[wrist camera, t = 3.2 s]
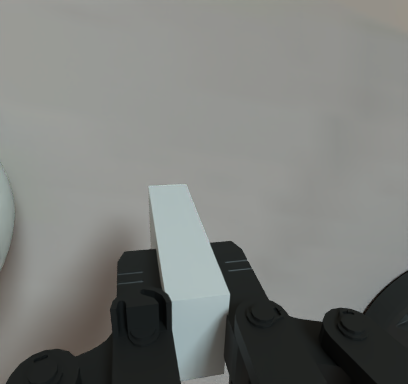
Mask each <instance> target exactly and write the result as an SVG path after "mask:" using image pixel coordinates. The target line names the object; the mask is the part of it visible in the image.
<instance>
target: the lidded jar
mask: <svg viewBox="0 0 408 384" xmlns="http://www.w3.org/2000/svg"><path fill="white" fill-rule="evenodd" d="M14 219H15V206H14V197H13V193H12V189H11V185H10V182H9V179H8V177H7V175H6V172H5V170H4V168H3V166H2V164H1V162H0V271H1V269H2V266H3V264H4V262H5V259H6V256H7V253H8V250H9V247H10V243H11V240H12V236H13V228H14Z"/></svg>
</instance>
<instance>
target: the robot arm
mask: <svg viewBox="0 0 408 384" xmlns="http://www.w3.org/2000/svg"><path fill="white" fill-rule="evenodd" d="M148 190H149V215H150V240H151V249H149V250H138V251H127V252H124V253H123V255H122V256H121V258H120V259H119V261H118V266H117V297H116V298H115V299H114V301H113V302H112V305H111V309H110V313H111V322H112V334H111V335H110V336H109V338H108V339H107V340H106V341H105V342H103V343H102V344H101V345H99V346H98V347H96V348H94V349H92V350H90V351H88V352H86V353H83V354H81V355H79V356H76V357H75V356H73V355H72V354H71V353H70V352H69V351H64V350H60V349H53V350H45V351H42V352H40V353H37V354H35V355H32V356H31V357H29V358H28V359H26V360H25V361H24V362H22V363H21V364H20V365H19V366H18V367H17V368H16V369H15V371H14V372H13V373H12V374H11V376H10V377H9V379H8V381H7V382H6V384H181V381H184V380H190V379H196V378H202V377H208V376H214V375H220V374H224V365H225V363H226V366H227V369H228V372H229V384H408V272H407V273H405V274H404V275H402V276H401V277H400V278H398V279H397V280H396V281H394V282H393V283H392V284H391V285H390V286H388V287H387V288H386V289H385V290H384V291H383V292H382V293H381V294H380V295H379V296H378V297H377V298H376V300H375V301H374V302H373V303H372V305H371V306H370V307H369V309H368V310H367V312H366V313H365V315H364V314H363V313H360V312H358V311H355V310H352V309H347V308H336V309H331V310H330V311H328V312H327V313H326V314H325V316H324V318H323V322H319V321H311V320H304V319H298V318H293V317H291V316H289V315H288V314H287V312H286V311H285V310H284V309H283V308H282V307H281V306H280V305H278V304H276V303H275V302H273V301H270V300H269V299H268V297H267V296H266V294H265V292H264V290H263V288H262V286H261V284H260V282H259V281H258V279H257V277H256V275H255V273H254V271H253V269H251V266H250V264H249V262H248V261H247V258H246V256H245V254H244V253H243V251H242V249H241V248H240V247H238V246H237V245H236V244H234V243H233V242H232V241H225V242H214V243H209V240H208V238H207V235H206V233H205V230H204V228H203V225H202V223H201V220H200V218H199V215H198V213H197V210H196V208H195V205H194V203H193V200H192V198H191V195H190V193H189V190H188V188H187V185H186V184H175V185H156V186H148Z"/></svg>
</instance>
